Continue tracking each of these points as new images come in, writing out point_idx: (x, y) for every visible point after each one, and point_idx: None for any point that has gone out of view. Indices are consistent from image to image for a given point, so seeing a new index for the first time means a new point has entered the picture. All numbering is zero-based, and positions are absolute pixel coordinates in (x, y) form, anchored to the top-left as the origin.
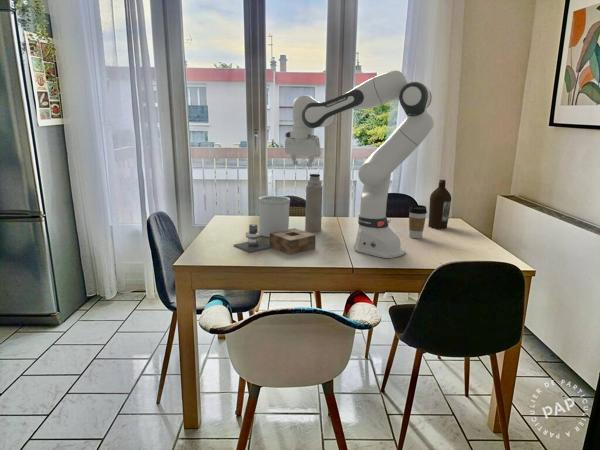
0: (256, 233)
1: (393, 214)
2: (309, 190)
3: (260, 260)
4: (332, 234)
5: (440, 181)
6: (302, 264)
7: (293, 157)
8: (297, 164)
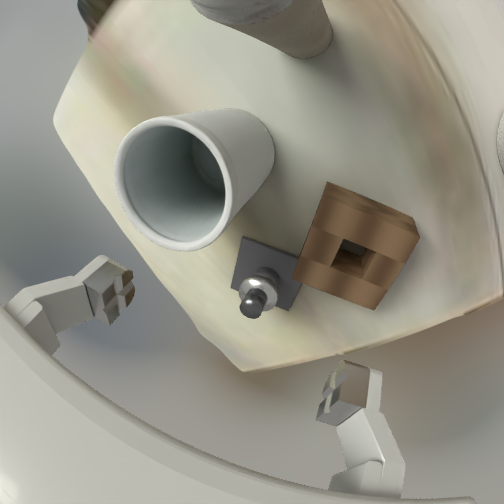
0: (267, 298)
1: None
2: (249, 29)
3: (334, 333)
4: (391, 46)
5: None
6: (416, 322)
7: (51, 321)
8: (129, 270)
